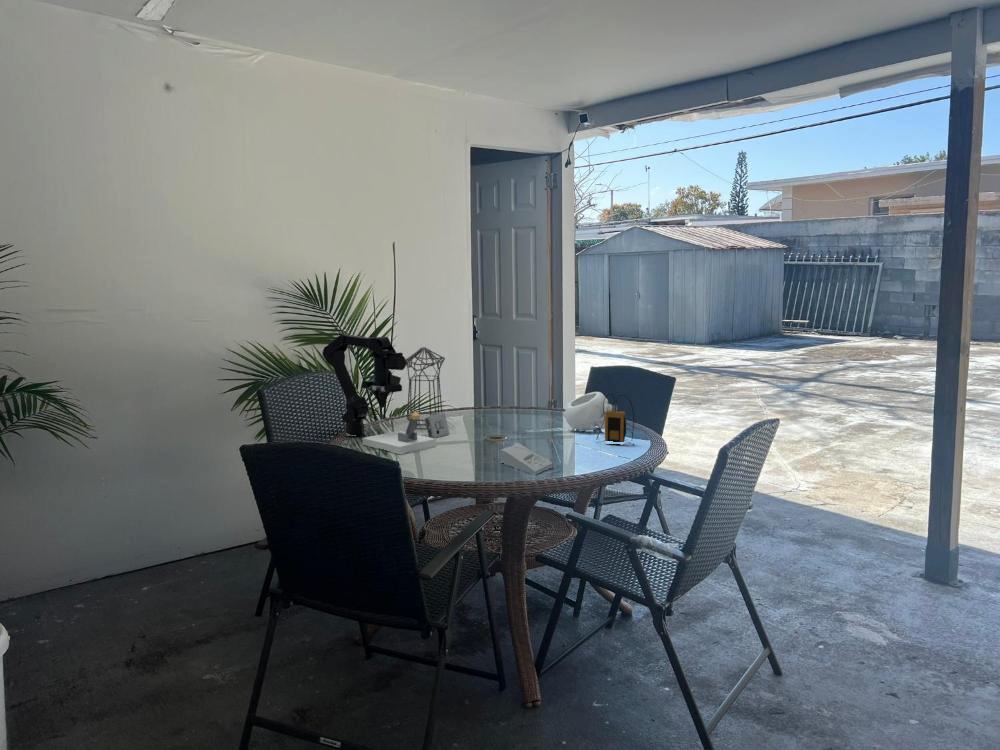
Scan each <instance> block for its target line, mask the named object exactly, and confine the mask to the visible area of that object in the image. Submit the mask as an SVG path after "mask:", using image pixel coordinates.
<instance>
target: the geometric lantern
mask: <svg viewBox="0 0 1000 750" xmlns="http://www.w3.org/2000/svg"><path fill="white" fill-rule="evenodd" d="M424 355H425V357H424ZM420 356H421V357H420ZM414 359H416V360H415V362H413V360H414ZM405 360H406V366H405V367H406V368H407V376H408V378H407V379H408V380H409V381H408V393H407V394H408V395H407V408H406V409H407V410H406V411H407V412H406V420H407V421H408V422H409V421H410V418H411V417H410V415H411V413H412V412H413V413H416V411H415V410H416V395H417V394H416V393H417V390H416V389H417V381H418V413H419V414H420V415H429V416H430V415H434V414H439V413H443V404H442V394H441V392H442V391H441V381H440V374H441V373H440V372H441V368H442V365H443V364H444V362H445V360H446V358H445V357H444V356H442V355H439V354H438V353H437V352H434V351H433V350H431V349H430V348H427V347H425V346H424V347H422V346H421V347H420V348H419V349H418V350H417V351H415V352H414V353H412V354H411V355H410V356H408V357H407V358H405ZM424 360H425V362H424ZM428 360H430V361H431V362H428ZM418 361H419V362H420V363H417V362H418ZM435 365H436V366H437V370H436V367H435ZM416 366H419V367H420V369H416ZM422 366H423V367H422ZM430 367H432V368H433V369H434V370H435V375H433V379H429V377H430V375H427V374H426V373H425V371H424V370H426V369H427V368H430ZM409 368H412V369H413V371H414V374H413V376H410V370H409ZM417 371H418V372H419V371H420V372H419V374H417ZM422 373H423V374H422ZM421 374H422V375H421ZM417 377H418V378H419V379H417ZM421 377H425V378H426V379H421ZM413 380H414V392H413V393H414V396H413V411H412V381H413ZM435 381H437V382H436V387H437V390H436V389H435ZM421 382H428V397H429V401H428V402H429V412H421ZM431 382H432V389H433V405H434V412H432V402H431V401H432V400H431ZM436 391H437V405H436ZM421 422H425V419H420V418H419V419H418V421H417V424H416V427H415V430H427V427H423V428H422V427H417V426H426V423H425V424H424V423H421Z"/></svg>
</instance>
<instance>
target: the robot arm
mask: <svg viewBox="0 0 1000 750" xmlns="http://www.w3.org/2000/svg"><path fill="white" fill-rule="evenodd" d="M349 346H353V347H360V348H365V349H367V350H369V351H371V353H370V354H369V355H368V357H369V358H373V370H372V371H371V374H372V375H373V378H374V379H368V380H367V379H366V380H363V381H362V382H361V388H362V389H368V388H372V389H370V392H372V394H373V396H374V398H375V399H376V401H377V404H378V405H379V407H380V408H382V409H383V408H384V407H385V405H386V401H387V399H388V396H389V394H391V393H397V392H398V393H399V392H403V385H402V384H401V379H402V377H399V376H397V375H394V374H392V371H391V370H393V371H394V370H395V371H404V369H406V367H407V366H406V360H405V359H406V358H405V356H404V355H403V352H397V351H396V350H395V348H394V347H393V344H392V343H391V341H390V339H389V337H388V336H376V337H369V336H368V337H367V336H360V335H352V334H348V333H345V334H339V335H338V336H337V337H336V338H335V339H333V340H332V341H331V342H330V343H328V344H327V345H326V346H324V347H323V351H321V352H322V356H323V358H324V360H325V361H326V363H327V364H328V365H329V366H331V367H332V369H333V371H334V374H335V375H336V378H337V380H338V382H339V386H340V387H341V390H342V391H343V395H344V396H345V397H344V398H345V399H346V402H345V409H346V412H344V414H343V415H342V416H341V418H342V422H343V423H345V429H346V431H345V432H346V433H348V434H350V435H356V436H360V437H362V436H364V435H366V432H365V424H364V420H366V418H367V415H368V413H369V411H370V410H369V404H368V402H367V399H366V397H365V396H362V397H361V396H360V395H359V394H358V391H357V389H356V387H355V385H354V382H353V380H352V378H351V375H350V373H349V371H348V368H347V366H346V364H345V363H346V362H345V361H346V360H345V359H346V355H345V352H346V351H348V350H347V349H348V348H349ZM346 433H345V434H346ZM363 434H364V435H363ZM361 435H362V436H361Z"/></svg>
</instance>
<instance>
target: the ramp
mask: <svg viewBox="0 0 1000 750" xmlns="http://www.w3.org/2000/svg"><path fill="white" fill-rule="evenodd" d="M501 463H504V464H508V465H511V466H514V467H517V468H520V469H524V470H527V471H530V472H532V473H537V472H539V471H541V470H544V469H546V468H548V467H550V466H552V467H553V463H552V462H551V461H550V460H548V459H547V458H545V457H543V456H541V455H540V454H538V453H535V452H533V451H531V450H530V449H528V448H527V447H525V446H524V445H523V444H521V443H518V442H515V443H514V444H513V445H512V446H511V445H510V446H507V447H504V448H502V449H500V464H501Z"/></svg>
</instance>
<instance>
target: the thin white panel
mask: <svg viewBox="0 0 1000 750" xmlns="http://www.w3.org/2000/svg"><path fill="white" fill-rule="evenodd" d="M363 445H367V446H372V447H375V448H380V449H384V450H387V451H391V452H394V453H397V454H396V455H398V454H402V455H404V453H406V454H408V453H407V452H410V453H413V452H412V451H414V452H418V450H419V451H423V450H426V449H431V448H435V447H436V446H437V438H433V437H429V436H426V435H425V436H424V435H419V434H418V432H416V431H414V433H413V436H412V439H409V435H408V434H406V431H400V430H396V431H390V432H386V433H381V434H375V435H371V436H367V437H362V446H363ZM422 449H423V450H422ZM394 453H393V454H394Z"/></svg>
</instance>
